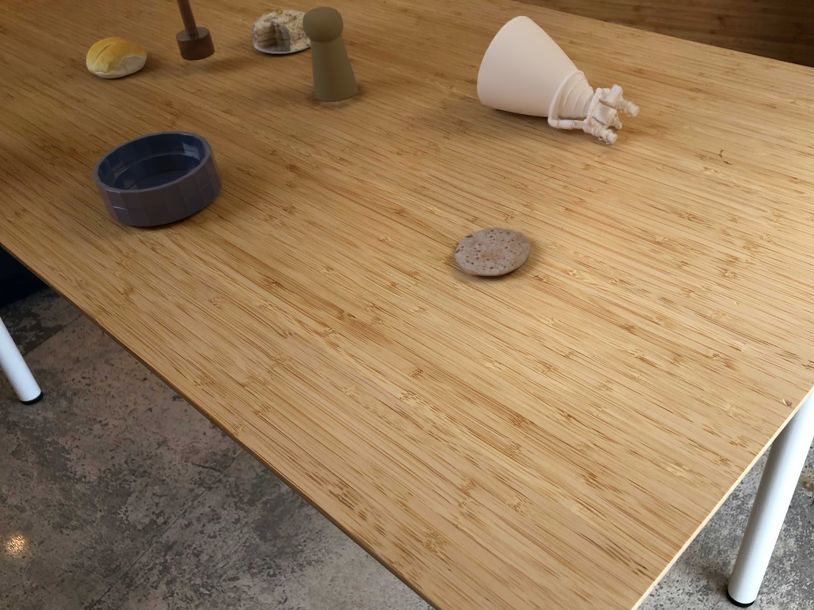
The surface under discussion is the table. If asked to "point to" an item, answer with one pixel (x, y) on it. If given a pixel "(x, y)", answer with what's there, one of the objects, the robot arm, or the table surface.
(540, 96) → the rocket engine
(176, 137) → the bowl
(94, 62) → the bread roll
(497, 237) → the flatbread
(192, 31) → the brown pestle
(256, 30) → the cake
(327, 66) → the olive game pawn
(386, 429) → the table surface
